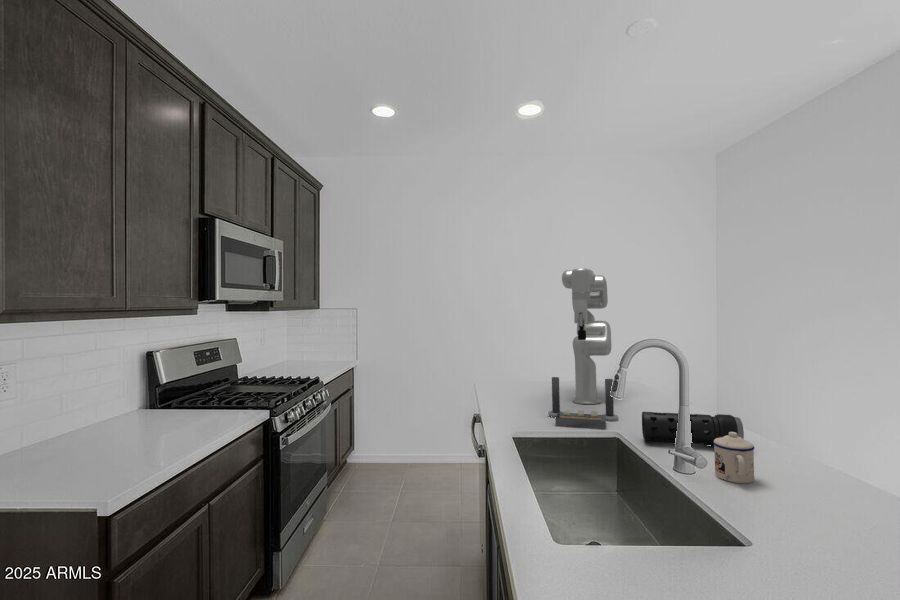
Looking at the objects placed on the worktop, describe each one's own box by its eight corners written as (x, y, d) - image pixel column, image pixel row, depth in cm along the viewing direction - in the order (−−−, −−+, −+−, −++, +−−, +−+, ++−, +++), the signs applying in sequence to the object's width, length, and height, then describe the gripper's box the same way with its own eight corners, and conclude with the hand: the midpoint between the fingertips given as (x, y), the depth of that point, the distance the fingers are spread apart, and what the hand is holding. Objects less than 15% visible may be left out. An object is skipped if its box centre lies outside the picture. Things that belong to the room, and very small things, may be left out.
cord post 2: (601, 417, 183) (600, 377, 184) (618, 418, 181) (617, 378, 181) (601, 420, 177) (600, 380, 177) (618, 421, 175) (617, 380, 175)
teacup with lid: (710, 469, 122) (709, 427, 123) (749, 473, 119) (747, 429, 120) (721, 486, 111) (720, 439, 111) (764, 490, 108) (763, 442, 108)
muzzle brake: (642, 438, 153) (641, 407, 154) (735, 444, 145) (734, 412, 145) (645, 446, 144) (644, 414, 144) (745, 453, 136) (744, 419, 136)
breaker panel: (558, 419, 180) (558, 407, 180) (605, 422, 174) (605, 409, 174) (555, 426, 171) (555, 412, 171) (605, 429, 165) (605, 415, 165)
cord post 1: (549, 413, 190) (548, 376, 191) (564, 414, 188) (564, 376, 188) (547, 417, 184) (546, 378, 185) (563, 418, 182) (562, 379, 182)
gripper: (573, 297, 201) (574, 338, 201) (570, 297, 187) (571, 340, 187) (590, 297, 199) (591, 338, 198) (589, 296, 185) (590, 341, 184)
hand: (582, 339), depth 193 cm, fingers closed
